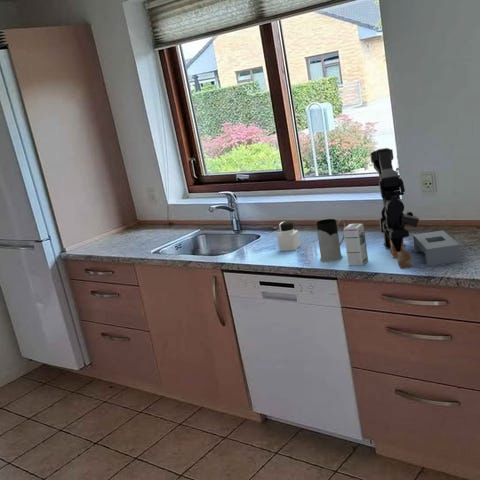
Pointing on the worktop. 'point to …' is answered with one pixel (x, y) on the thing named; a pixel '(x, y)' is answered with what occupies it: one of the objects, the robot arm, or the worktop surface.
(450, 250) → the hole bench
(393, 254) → the long pin
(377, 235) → the worktop surface
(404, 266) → the short pin
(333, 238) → the grey pitcher
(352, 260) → the syrup box
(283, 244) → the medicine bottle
